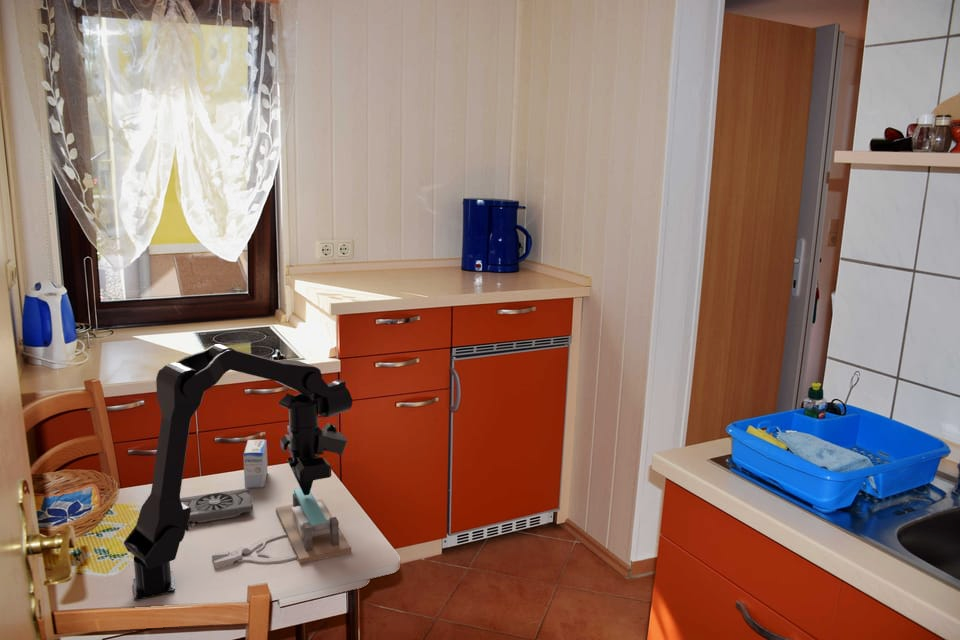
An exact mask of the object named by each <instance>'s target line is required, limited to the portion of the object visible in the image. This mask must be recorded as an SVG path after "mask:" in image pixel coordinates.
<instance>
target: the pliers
mask: <svg viewBox="0 0 960 640" xmlns="http://www.w3.org/2000/svg"><path fill="white" fill-rule="evenodd" d="M284 537H287V534H286V533H285V532H284V533H279V534H278V533H277V534H275V535H270V536H267V537H264V538H262V539H259V540H257V541H255V542H253V543H251V544H250V545H249V546H247V547H244V546H240V547H237V548H235V550H232V551H229V550H226V551H220V552H214V553H212V554H211V561H212V562H213V567H214V569H219V568H222V567H227V566H230V565H231V566H232V565H233V564H234V562H238V563H243V562H249V563H255V564H267V565H268V564H277V563H278V564H279V563H284V562H290V561H292V560H296V559H297V556H296V555H295V554H293V555H288V556H280V557H274V556H271V555H270V554H268V553H267V554H266V553H259V552H260V551H262V550H263V549H264V548H265V547H266V544H267V543H269V542H271V541H274V540H278V539H280V538H284ZM260 546H261V547H260ZM259 547H260V548H259ZM253 551H255V553H257V556H255V555H252V556H243V555H248V554H250V553H253Z"/></svg>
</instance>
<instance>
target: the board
mask: <svg viewBox="0 0 960 640" xmlns="http://www.w3.org/2000/svg"><path fill="white" fill-rule="evenodd" d="M315 500H316V502H317V504H318V505H319V507H320V509H321V511H322V513H323V514H324V516H325V518H326V520H327V522H329V524H330V529H325V530H320V531H315V532H313V531H312V526H311V524H310V522H309V521H308V519H307V517H306V515H305V513H304V511H303V509H302V507H301V506H297V507H293V503H292V504H288V505H287V504H286V505H282V506H278V507H277V506H276V507H275V513H276V515H277V518H278V520H279V522H280V524H281V526H282V529H283V530H284V533H286V534H287V536H286V537H287V540H288V542H289V545H290V546H291V549H292V550H293V553H294V555H296V556H297V558H296V559H297V562H298V564H299V565H301V564H305V563H309V562H313V561H318V560H323V559H327V558H332V557H336V556H337V557H338V556H340V555H341V556H342V555H345V554H346V555H347V554H349V553H352V547H351V545H350V543H349V541H348V540H347V539H346V537H345V536H344V533H343V532H342V530H341V528H340V525H339V522H340V521H339V520H338V518H337V516H333V515H332V513H331V512H330V511H329V508H328V507H327V504H325V502H324V500H323V499H322V498H319V499H315Z"/></svg>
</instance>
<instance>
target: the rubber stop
mask: <svg viewBox="0 0 960 640" xmlns="http://www.w3.org/2000/svg"><path fill="white" fill-rule="evenodd" d="M292 504H293V507H297V506H301V505H300V503H299V501H298V499H297V497H296V495H295V493H292Z"/></svg>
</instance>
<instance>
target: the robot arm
mask: <svg viewBox="0 0 960 640" xmlns="http://www.w3.org/2000/svg"><path fill="white" fill-rule="evenodd" d="M229 371H235V372H239V373H241V374H246V375H250V376H255V377H259V378H261V379H266V380H271V381H274V382H276V383H277V384H279V385H280V384H281V385H282V386H285V387H286V388H289V389H291V390H294V391H296V392H298V393H297V394H294V395H293V394H291V393H288V392H287V393H285V395H284V396H283V397H282V398H281V399H280V400H279V401H278V406H281V407H283V408H285V409H288V420H289V421H288V422H289V425H287V426H286V430H287V433H289V434H284V435H283V436H282V437H281V438H280V448H281V450H282V452H283V453H286V452H287V451H288V452H289V454H290V457H288V458H286V461H287V463H288V465H289V467H290V469H291V472H292V473H293V475H294V477H295V480H296V481H297V484H298V486H299V488H301V490H302V492H303V494H304V495H309V494H310V491H312V488H313V482H314V481H317V480H323V479H328V478H331V477H332V466H331V464H330V463H329V462H328V460H326V459H325V458H324V457H322V456H321V455H324V453H325V452H329V453H333V454H337V455H339V456H341V455H344V452H345V449H346V446H347V443H348V438H347V437H346V436H345V435H344V434H343V433H342V432H340V431H337V427H336V425H335V424H334V423H330V422H328V423H326V425H325V426H324V427H322V428H320V426H319V416H320V417H322V418H325V419H326V418H329V417H333V416H336V415H339V414H342V413H344V412H348V411H350V410H351V409H352V406H353V398H352V395H351V392H350V390H349V389H348V388H347V386H346V381H344V380H341V379H337V380H334V381H332V382H329V383H327V382H326V381H325V380H324V379H323V376H322V375H323V374H322V370H321V369H320V368H318V367H316V366H314V365H311V364H308V363H305V362H303V361H300V360H295V359H293V360H292V359H282V360H278V359H270V358H268V357H265V356H259V355H256V354H253V353H249V352H246V351H241V350H237V349H236V348H231V347H229V346H226V345H224V344H222V343H217V344H214V345H211V346H209V347H208V348H206V349H205V350H202V351H199V352H196V353H193V354H190V355H188V356H184V357H183V358H181V359H180V360H178V361H176V362H170V363H168V364H165V365H164V366H163V367H162V368H160V369H159V370H158V372H157V375H156V379H155V384H156V398H157V402H158V405H159V409H160V412H161V413H160V414H161V418H160V426H159V433H158V439H157V448H156V455H155V463H154V468H153V469H154V470H153V476H152V482H151V483H152V485H151V491H150V494H149V496H148V497H147V498H146V500H145V501H144V503H143V504H142V505H141V508H140V511H139V513H138V514H139V515H138V518H137V520H136V525H135V526H134V528H133V529H132V530H131V531H130V533H129V534H128V535H127V537H126V538H125V540H124V541H123V546H124V547H125V549H126V551H127V552H128V553H130V554H132V555H133V568H134V576H135V577H134V578H133V579H132V583H133V598H134V600H136V601H138V600H142V599H148V598H150V597H156V596H161V595H165V594H169V593H173V592H175V591H176V586H175V581H174V580H175V579H174V574H173V570H171V562H172V561H174V560H176V558H177V555H178V550H179V546H180V543H181V542H183V539H184V537H185V534H186V532H188V531H190V528H189V526H188V524H189V523H188V520H189V517H190V513H191V508H190V507H188V506H187V505H185V504H184V503H182V502H181V500H180V498H181V492H182V491H181V490H182V483H183V475H184V469H185V463H186V455H187V448H188V441H189V435H190V434H189V433H190V426H191V419H192V417H193V416H194V415H195V413H196V412H197V410H198V409H199V407H200V406H201V404H202V401H203V397H204V395H205V392H206V391H207V390H209V389H210V388H212V387H214V386H215V385H217V383H218V382H219V381H220V380H221V378H222V377H223V376H224V375H225V374H226V373H227V372H229ZM324 451H325V452H324ZM320 456H321V457H320Z"/></svg>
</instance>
